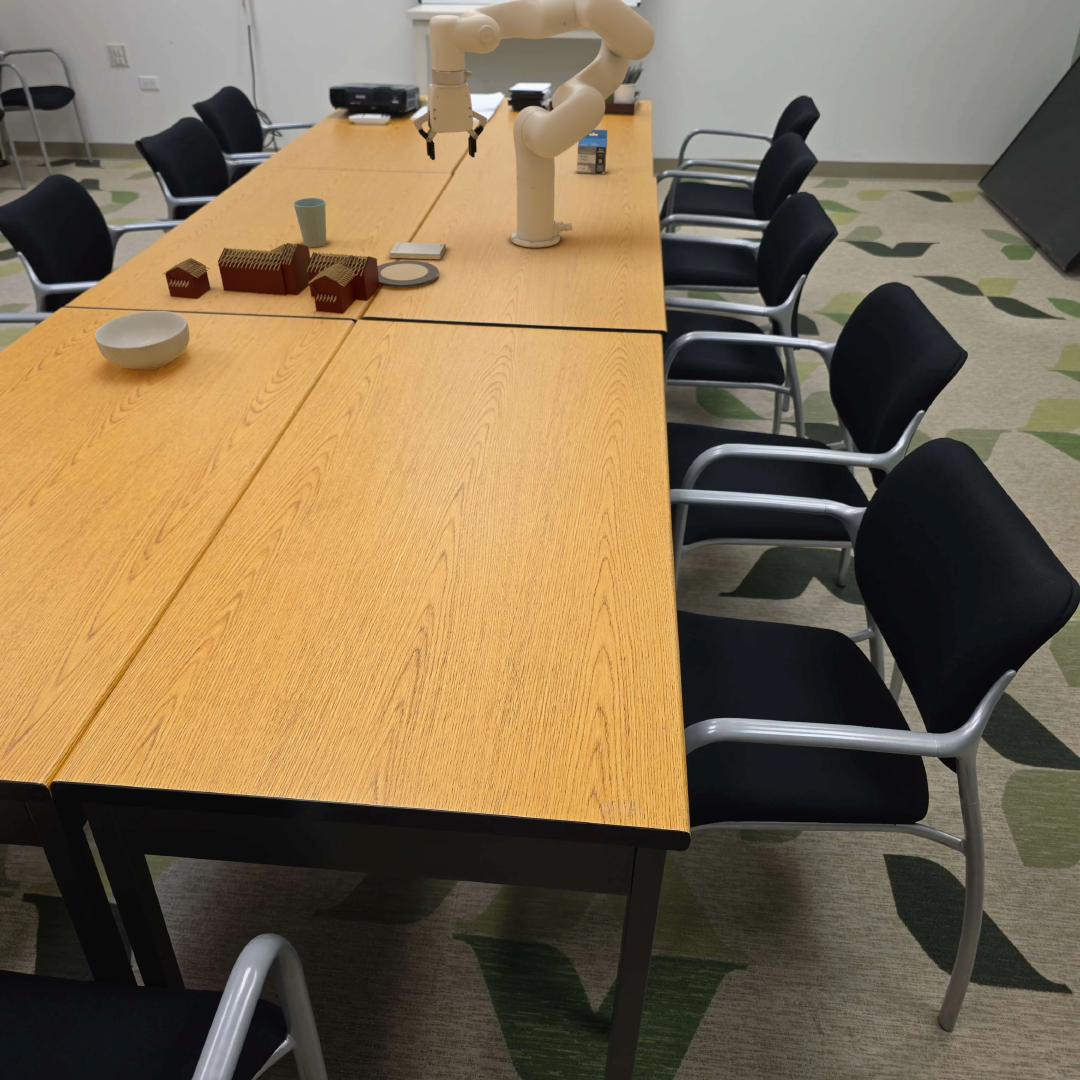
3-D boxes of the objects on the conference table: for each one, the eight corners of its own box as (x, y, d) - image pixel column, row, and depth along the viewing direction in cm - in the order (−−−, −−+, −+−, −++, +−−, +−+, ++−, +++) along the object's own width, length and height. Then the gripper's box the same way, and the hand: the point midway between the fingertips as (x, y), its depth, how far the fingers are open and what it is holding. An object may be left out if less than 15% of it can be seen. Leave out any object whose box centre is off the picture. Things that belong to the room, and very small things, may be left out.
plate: (429, 262, 223) (429, 256, 222) (446, 285, 211) (446, 279, 210) (364, 270, 218) (363, 264, 217) (378, 293, 206) (377, 287, 205)
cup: (334, 246, 232) (328, 204, 226) (303, 250, 229) (297, 208, 223) (326, 237, 238) (321, 196, 231) (297, 241, 235) (290, 200, 229)
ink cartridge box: (576, 173, 289) (577, 131, 281) (578, 170, 292) (579, 128, 285) (604, 174, 288) (606, 132, 280) (605, 171, 291) (607, 129, 283)
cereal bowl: (118, 344, 184) (109, 311, 179) (203, 342, 185) (195, 308, 181) (92, 383, 170) (81, 347, 166) (184, 379, 171) (175, 344, 167)
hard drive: (445, 242, 230) (396, 241, 231) (439, 253, 223) (389, 251, 224) (446, 249, 231) (397, 247, 232) (440, 260, 224) (390, 258, 225)
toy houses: (383, 283, 211) (379, 239, 205) (351, 317, 195) (345, 271, 189) (204, 269, 219) (194, 226, 213) (158, 301, 202) (147, 255, 196)
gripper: (481, 73, 213) (483, 151, 223) (407, 76, 208) (413, 156, 218) (489, 79, 207) (491, 158, 217) (414, 82, 202) (419, 163, 212)
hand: (452, 157), depth 218 cm, fingers open, 9 cm apart
